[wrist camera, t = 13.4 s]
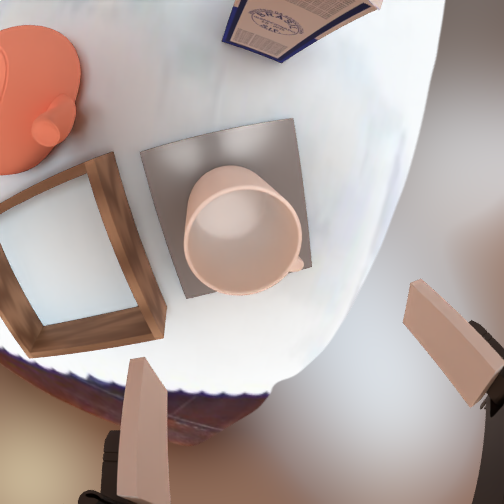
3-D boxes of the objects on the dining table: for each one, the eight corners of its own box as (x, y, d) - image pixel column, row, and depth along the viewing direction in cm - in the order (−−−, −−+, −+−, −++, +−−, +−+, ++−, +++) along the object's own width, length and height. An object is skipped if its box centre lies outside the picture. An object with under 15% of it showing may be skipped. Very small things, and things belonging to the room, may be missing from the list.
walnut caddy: (-16, 213, 24) (-42, 230, 18) (113, 151, 25) (93, 158, 20) (42, 332, 33) (29, 358, 27) (166, 306, 35) (163, 338, 29)
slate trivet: (141, 151, 26) (139, 152, 25) (290, 118, 27) (293, 118, 27) (186, 295, 34) (186, 298, 34) (309, 263, 36) (311, 266, 35)
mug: (261, 267, 34) (287, 325, 24) (172, 216, 29) (161, 263, 19) (306, 209, 31) (352, 249, 22) (218, 147, 27) (229, 160, 17)
